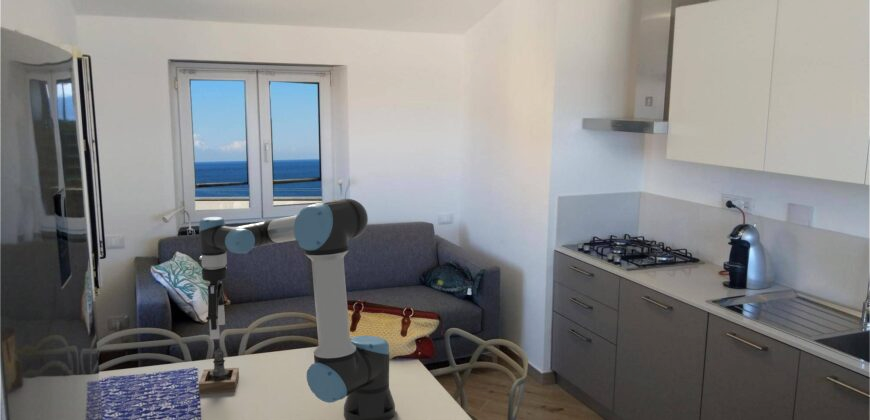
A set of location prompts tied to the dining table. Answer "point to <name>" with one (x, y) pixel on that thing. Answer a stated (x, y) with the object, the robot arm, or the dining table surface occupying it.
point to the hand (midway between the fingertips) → (217, 331)
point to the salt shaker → (219, 367)
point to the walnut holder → (218, 382)
